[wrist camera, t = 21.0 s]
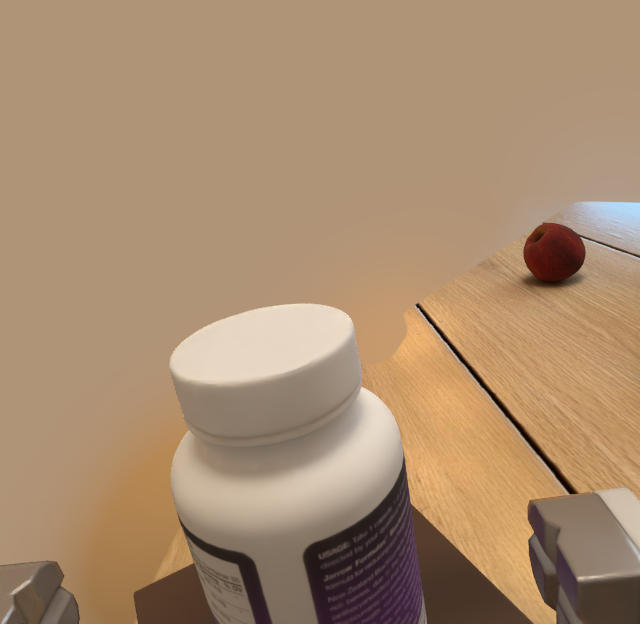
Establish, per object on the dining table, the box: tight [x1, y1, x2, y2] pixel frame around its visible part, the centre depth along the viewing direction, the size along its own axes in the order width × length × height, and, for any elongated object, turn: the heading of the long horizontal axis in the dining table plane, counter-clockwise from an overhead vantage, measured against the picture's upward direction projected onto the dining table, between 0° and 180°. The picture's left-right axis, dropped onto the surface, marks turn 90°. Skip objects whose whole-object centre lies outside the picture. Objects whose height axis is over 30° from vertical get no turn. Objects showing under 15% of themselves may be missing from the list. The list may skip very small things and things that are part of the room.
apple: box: [523, 223, 586, 282], centre depth 69 cm, size 7×8×8 cm
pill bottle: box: [169, 304, 427, 624], centre depth 12 cm, size 5×5×10 cm
